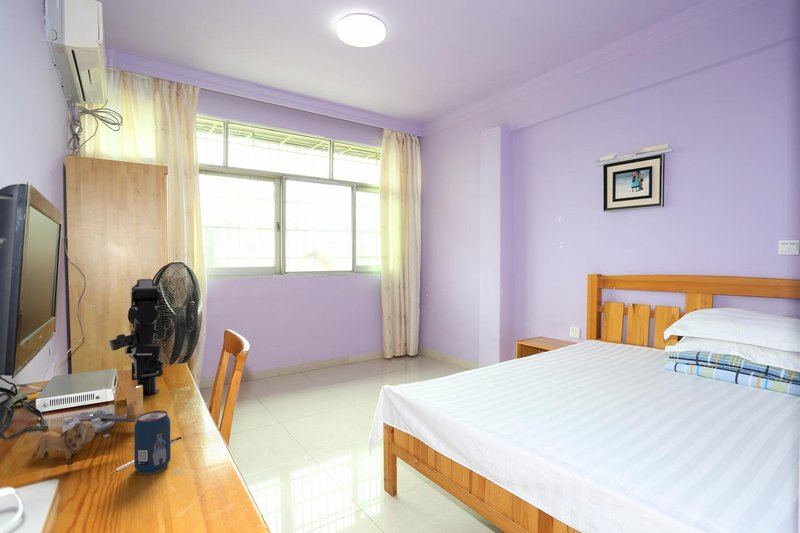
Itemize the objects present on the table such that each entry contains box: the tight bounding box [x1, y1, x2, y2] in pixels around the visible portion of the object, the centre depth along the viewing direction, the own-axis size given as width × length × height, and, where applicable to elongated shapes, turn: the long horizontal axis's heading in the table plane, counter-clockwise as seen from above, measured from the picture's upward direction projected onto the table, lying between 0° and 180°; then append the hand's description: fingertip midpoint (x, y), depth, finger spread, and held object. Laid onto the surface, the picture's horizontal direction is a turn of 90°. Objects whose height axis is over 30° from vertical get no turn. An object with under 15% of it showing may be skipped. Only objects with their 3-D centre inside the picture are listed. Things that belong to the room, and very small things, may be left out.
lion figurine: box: [32, 421, 97, 466], centre depth 92 cm, size 15×5×9 cm, turn 95°
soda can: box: [133, 410, 172, 475], centre depth 89 cm, size 7×7×12 cm
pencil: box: [108, 436, 182, 476], centre depth 95 cm, size 1×19×1 cm, turn 162°
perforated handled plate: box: [62, 384, 144, 435], centre depth 106 cm, size 20×11×12 cm, turn 87°
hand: (138, 378), depth 120 cm, fingers closed
